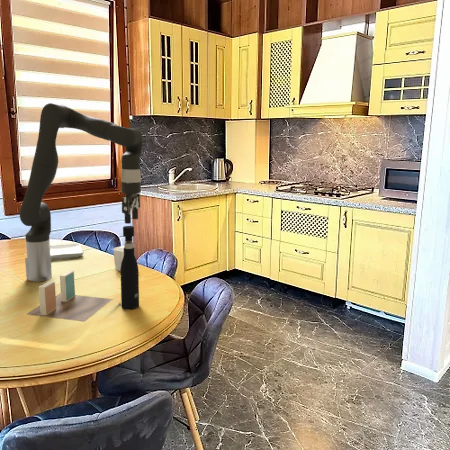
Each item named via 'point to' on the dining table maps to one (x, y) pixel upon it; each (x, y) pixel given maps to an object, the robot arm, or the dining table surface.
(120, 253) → the white cup
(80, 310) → the board
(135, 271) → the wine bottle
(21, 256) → the dining table surface
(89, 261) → the dining table surface
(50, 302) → the tile terracotta
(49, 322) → the dining table surface
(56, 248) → the salad plate
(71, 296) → the tile teal
